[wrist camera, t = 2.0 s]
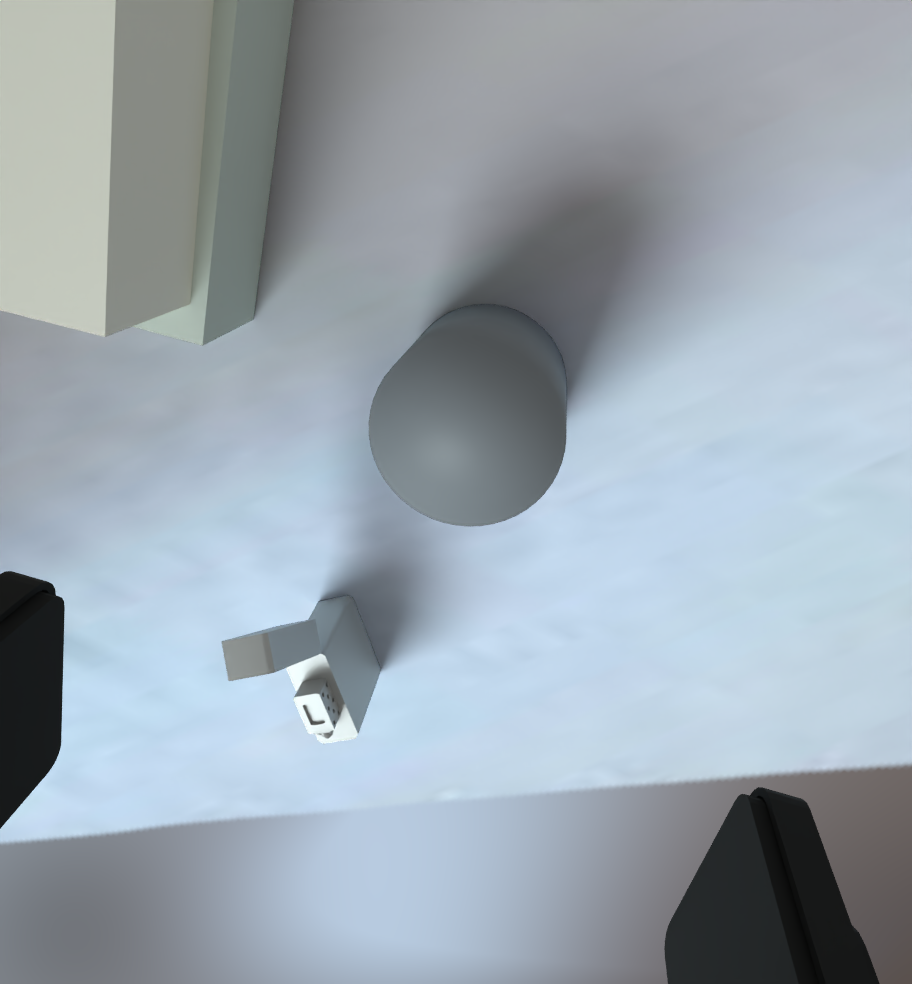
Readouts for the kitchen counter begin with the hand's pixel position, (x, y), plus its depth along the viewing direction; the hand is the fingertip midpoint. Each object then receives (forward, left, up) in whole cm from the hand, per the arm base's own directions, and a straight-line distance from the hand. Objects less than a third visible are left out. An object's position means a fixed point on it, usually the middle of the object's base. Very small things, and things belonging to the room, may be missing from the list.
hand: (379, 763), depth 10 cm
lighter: (-12, +4, -20) cm, 24 cm away
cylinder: (0, 0, -20) cm, 20 cm away
